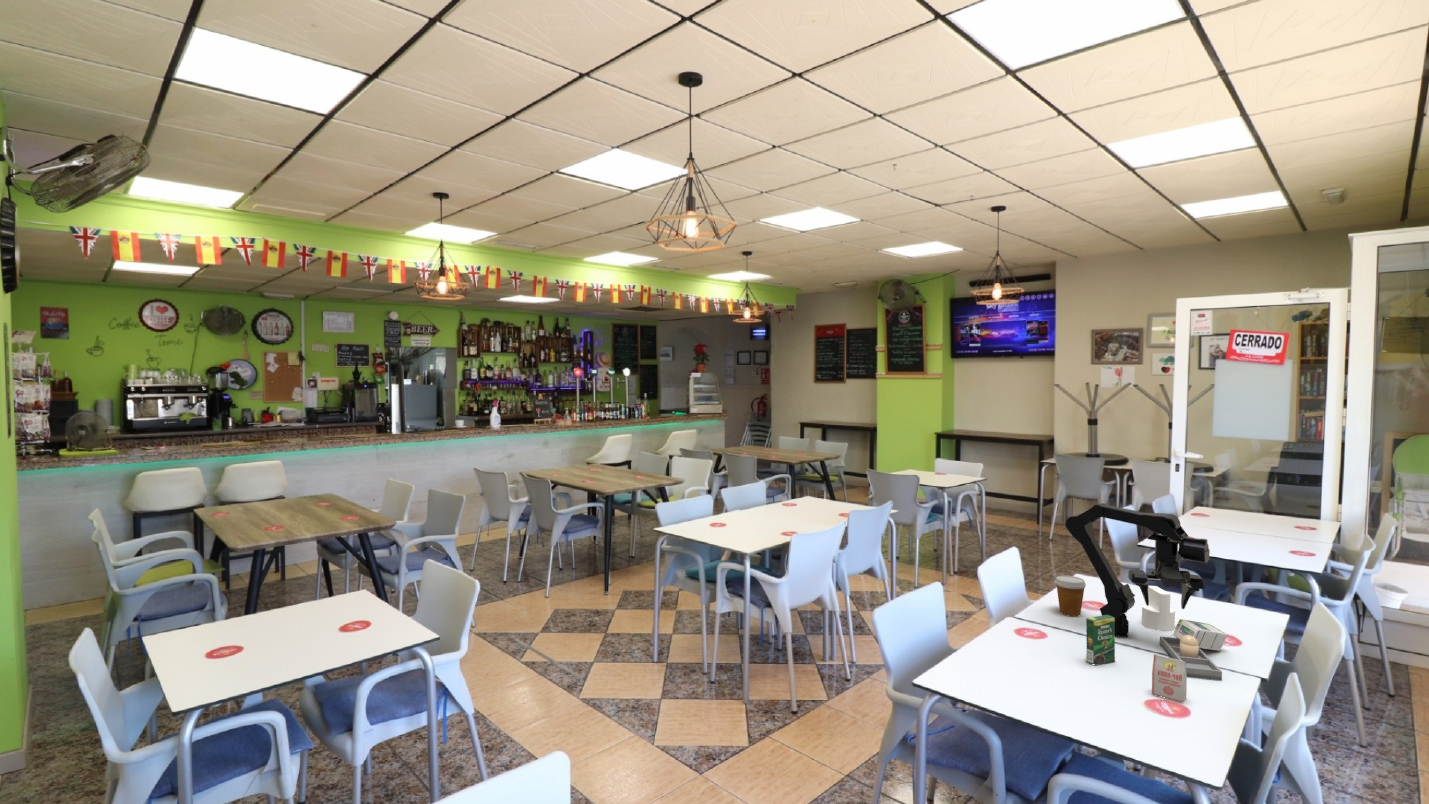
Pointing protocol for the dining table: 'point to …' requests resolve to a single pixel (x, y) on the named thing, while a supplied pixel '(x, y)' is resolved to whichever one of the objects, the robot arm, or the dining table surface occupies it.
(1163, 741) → the dining table surface
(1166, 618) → the base with upright slab
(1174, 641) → the grey divided tray
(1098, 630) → the coffee box
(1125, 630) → the robot arm
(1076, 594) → the disposable coffee cup
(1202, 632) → the syrup box
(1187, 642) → the beige domed cylinder
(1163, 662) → the tea bag
